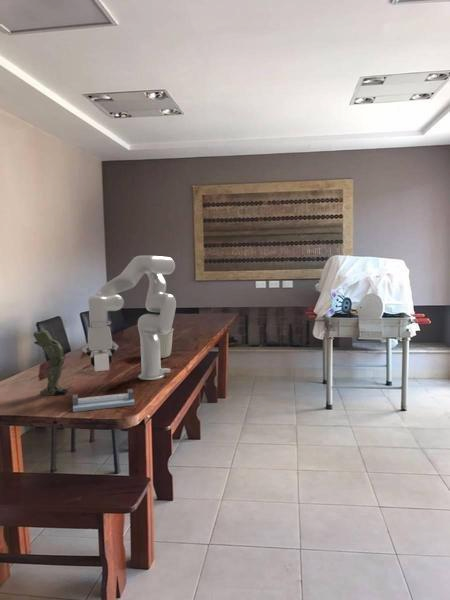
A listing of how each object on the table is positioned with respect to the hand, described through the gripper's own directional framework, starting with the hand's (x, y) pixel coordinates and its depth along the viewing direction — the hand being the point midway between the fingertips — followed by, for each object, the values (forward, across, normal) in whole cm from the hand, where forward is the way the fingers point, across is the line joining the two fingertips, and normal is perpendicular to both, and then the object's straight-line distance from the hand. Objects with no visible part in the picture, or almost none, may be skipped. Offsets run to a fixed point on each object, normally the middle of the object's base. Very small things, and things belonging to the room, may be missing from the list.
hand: (101, 364), depth 209 cm
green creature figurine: (+13, +22, -9) cm, 27 cm away
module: (+2, 0, 0) cm, 2 cm away
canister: (+15, -36, -68) cm, 78 cm away
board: (+13, +1, +15) cm, 20 cm away
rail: (+12, +1, +15) cm, 19 cm away
